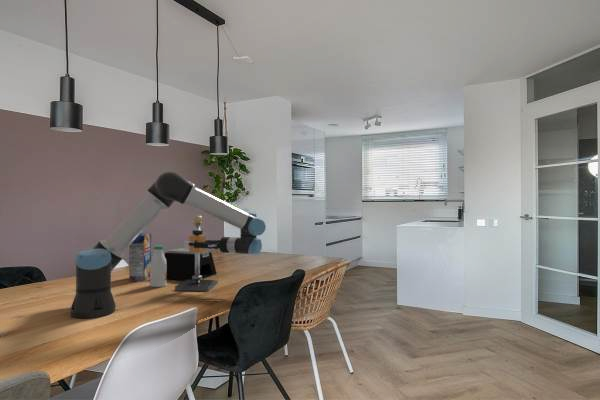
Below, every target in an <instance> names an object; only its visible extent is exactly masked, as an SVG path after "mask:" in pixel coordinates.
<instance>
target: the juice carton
mask: <svg viewBox="0 0 600 400" xmlns="http://www.w3.org/2000/svg"><path fill="white" fill-rule="evenodd" d="M151 259H152V233H141V234H140V235H139V236H138V237H137V238H136V239H135V240H134V241H133V242H132V243H131V245H130V246H129V261H128V262H129V266H128V267H129V271H128V274H129V278H128V279H129V282H144V281H146V280H147V279H150V263H151Z"/></svg>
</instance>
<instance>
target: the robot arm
mask: <svg viewBox="0 0 600 400" xmlns="http://www.w3.org/2000/svg"><path fill="white" fill-rule="evenodd" d="M175 202H177V203H180V204H182V205H190V206H192V207H194V208H196V209H197V210H200V211H201V212H203V213H206V214H208V215H211V216H212V217H214V218H216V219H219V220H221V221H223V222H226V223H227V224H229V225H231V226H233V227H235V228H238V229H239V230H240V237H236V236H231V237H230V236H222V237H221V238H220V239H214V240H213V239H206V242H197V240H195V241H189V240H184V241H183V247H184V248H185V247H188V248H189V247H194V248H205V249H210V250H211V249H214V250H218V249H219V251H220V252H221V253H224V254H234V255H237V254H240V255H241V254H242V255H258V254H260V253H261V251H262V248H263V247H262V246H263V245H262V243H263V242H262V240H261V238H258V236H261V235H263V234H264V233H265V231H266V227H267V226H266V222H265V221H264V220H263V219H262V218H260V217H257V213H256V212H246V211H244V210H242V209H240V208H238V207H236V206H234V205H233V204H230V203H228V202H226V201H224V200H222V199H220V198H218V197H216V196H214V195H212V194H210V193H208V192H206V191H204V190H202V189H200V188H198V187H196V184H195V183H193V182H191V181H190V180H188V179H186V178H184V177H183V176H181V175H180V174H179V173H177V172H175V171H166V172H162V174H160V175H158V177H157V179H156V180H155V181H154V182H153V184H151V185H150V187H149V188H148V189H147V190H146V196H145V197H144V198H143V199H142V201H140V203H139V204H138V205H137V206H136V207H135V208H134V209H133V210H132V212H131V213H130V214H129V215H128V216H126V218H125V219H124V220H123V221H122V222H121V223H120V224H119V225H118V226H117V227H116V229H115V230H114V231H113V232H112V233H111V234H110V235H108V237H107V238H106V239H101V240H99V241H98V242H97V243H96V244H95V246H93V248H90V249H89V248H88V249H84V250H81V251H79V252H78V253H77V254H76V259H75V262H74V263H75V296H74V298H73V301H72V304H71V306H70V310H69V311H70V312H69V315H70V317H71V318H76V319H91V318H93V319H94V318H98V317H99V318H100V317H104V316H107V315H111V314H113V313H115V312H116V310H117V309H116V308H117V306H116V301H115V299H114V297H113V296H114V295H113V294H112V293H113V292H112V290H111V289H112V287H111V285H112V284H111V282H112V279H111V278H112V271H113V270H114V269H115V268H116V267H117V265H119V263H120V262H121V261H122V260H123V259H124V255H125V254H124V253H125V252H126V250H127V249H128V248H130V245H131V243H132V242H133V241H134V240H135V239H136V238H137V237H138V236H139V235H140V234H142V233H143V232H144V231H145V229H146V228H147V227H148V226H149V225H150V224H151V223H152V222H153V220H154V219H155V218H156V217H157V216H158V214H159V213H161V211H162V210H164V209H169V208H170V207H171V206H172V205H173V204H174V203H175Z"/></svg>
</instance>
